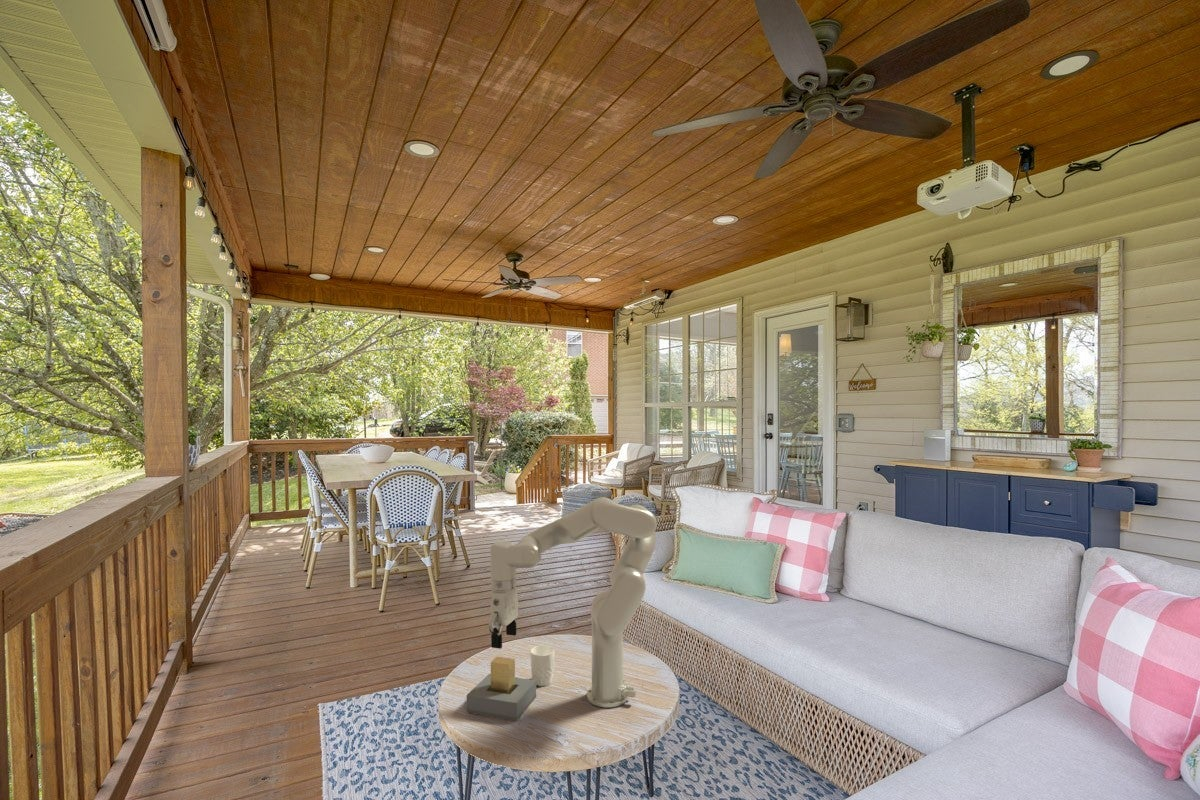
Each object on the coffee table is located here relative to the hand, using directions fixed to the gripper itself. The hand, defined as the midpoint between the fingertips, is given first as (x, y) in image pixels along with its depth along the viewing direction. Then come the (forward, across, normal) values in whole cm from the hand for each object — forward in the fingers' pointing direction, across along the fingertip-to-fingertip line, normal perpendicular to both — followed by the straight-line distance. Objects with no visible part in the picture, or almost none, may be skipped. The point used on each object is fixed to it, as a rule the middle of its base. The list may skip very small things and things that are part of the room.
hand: (504, 641), depth 165 cm
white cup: (+19, +17, -5) cm, 26 cm away
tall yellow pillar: (+18, 0, +1) cm, 18 cm away
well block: (+19, 0, +1) cm, 19 cm away
